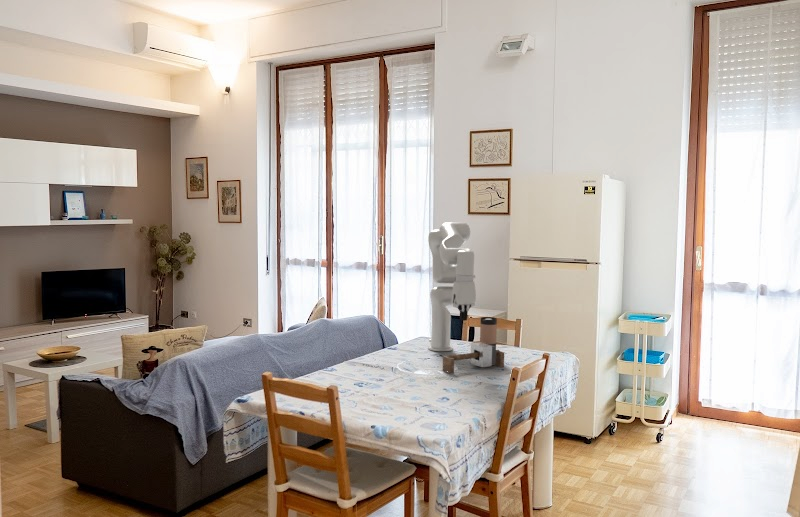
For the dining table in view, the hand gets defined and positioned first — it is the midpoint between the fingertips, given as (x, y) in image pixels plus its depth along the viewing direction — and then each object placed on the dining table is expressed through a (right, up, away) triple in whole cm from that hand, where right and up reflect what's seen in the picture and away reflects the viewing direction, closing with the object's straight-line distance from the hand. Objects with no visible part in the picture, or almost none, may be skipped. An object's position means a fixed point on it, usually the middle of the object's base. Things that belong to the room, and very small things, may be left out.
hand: (463, 319), depth 295 cm
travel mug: (+13, -21, +20) cm, 32 cm away
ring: (+12, -20, +8) cm, 24 cm away
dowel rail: (+5, -22, +4) cm, 23 cm away
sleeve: (+8, -21, +6) cm, 23 cm away
